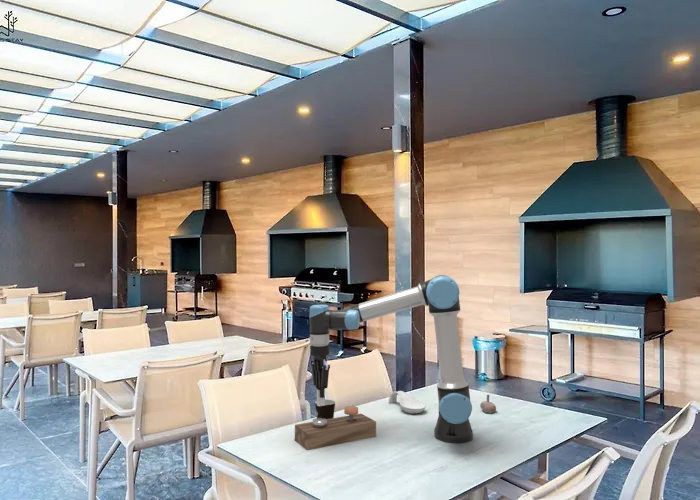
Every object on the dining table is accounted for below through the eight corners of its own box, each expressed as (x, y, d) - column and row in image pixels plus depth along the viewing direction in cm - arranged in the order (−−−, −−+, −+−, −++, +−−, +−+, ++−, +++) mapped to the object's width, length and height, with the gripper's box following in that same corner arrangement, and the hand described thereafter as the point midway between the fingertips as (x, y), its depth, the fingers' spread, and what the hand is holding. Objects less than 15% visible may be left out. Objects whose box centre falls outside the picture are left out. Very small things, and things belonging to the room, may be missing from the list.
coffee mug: (332, 429, 213) (332, 405, 213) (312, 428, 215) (312, 404, 215) (338, 421, 225) (338, 398, 225) (319, 419, 226) (319, 397, 226)
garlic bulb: (483, 408, 243) (483, 391, 243) (499, 411, 239) (498, 394, 239) (477, 412, 237) (477, 395, 237) (493, 415, 233) (493, 397, 233)
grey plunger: (329, 441, 198) (329, 421, 199) (316, 444, 196) (316, 423, 196) (323, 437, 203) (323, 417, 203) (310, 439, 201) (310, 419, 201)
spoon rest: (431, 413, 235) (430, 398, 236) (410, 417, 230) (410, 401, 230) (401, 401, 256) (401, 387, 256) (381, 404, 250) (381, 390, 250)
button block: (376, 436, 205) (376, 421, 205) (307, 450, 190) (307, 433, 190) (361, 427, 215) (361, 413, 215) (294, 440, 201) (294, 424, 201)
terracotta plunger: (360, 428, 205) (360, 408, 205) (348, 431, 202) (348, 410, 203) (354, 424, 210) (353, 405, 210) (341, 426, 207) (341, 407, 208)
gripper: (304, 343, 204) (305, 403, 204) (318, 347, 193) (319, 411, 192) (321, 341, 208) (322, 400, 207) (335, 345, 196) (337, 407, 196)
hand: (320, 405), depth 200 cm, fingers closed
